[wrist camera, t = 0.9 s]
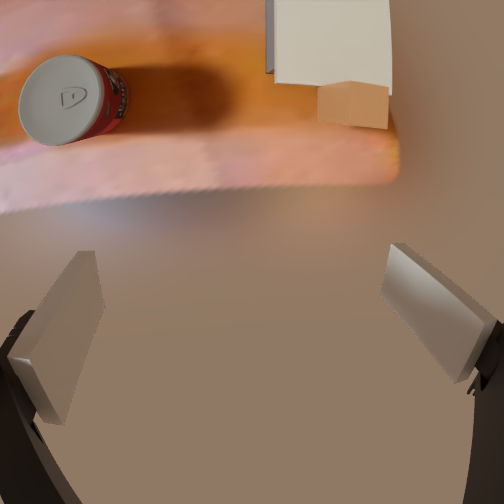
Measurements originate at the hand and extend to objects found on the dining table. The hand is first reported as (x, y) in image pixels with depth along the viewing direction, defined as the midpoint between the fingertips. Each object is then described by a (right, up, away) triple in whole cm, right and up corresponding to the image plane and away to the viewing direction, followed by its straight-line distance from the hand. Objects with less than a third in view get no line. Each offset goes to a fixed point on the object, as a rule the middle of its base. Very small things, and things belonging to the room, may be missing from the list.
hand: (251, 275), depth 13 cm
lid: (+8, +24, +12) cm, 27 cm away
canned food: (-17, +17, +16) cm, 29 cm away
